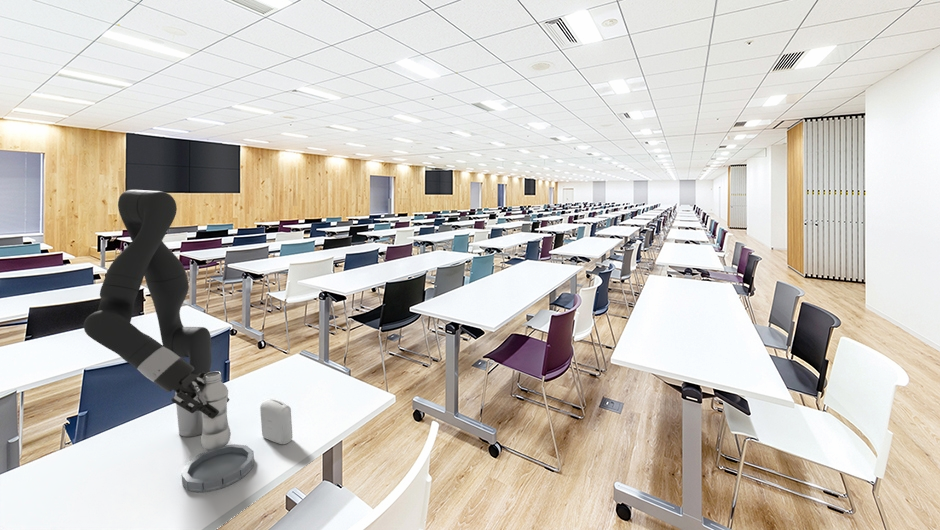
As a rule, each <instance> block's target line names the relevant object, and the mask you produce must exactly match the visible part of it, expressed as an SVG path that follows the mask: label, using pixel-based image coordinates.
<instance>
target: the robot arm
mask: <svg viewBox="0 0 940 530" xmlns="http://www.w3.org/2000/svg"><path fill="white" fill-rule="evenodd" d="M117 207H118V212H119V215H120V218H121V220H122V223H123V224H124V227H125V230H126V231H127V233H128V235H129V237H130V239H131V242H130V243H129V244H128V245H127V246H126V248H125V249H124V250H123V251H121V252H120V254H118V255H117V256H116V257H115V259H114V260H113V261H112V263H110V265H109V268H108V269H107V272H106V273H105V277H104V279H103V282H102V285H101V287H100V291H99V298H100V303H99V305H98V308H97V311H94V312H92V313H91V314H89V315H88V316H87V317H86V318H85V320H84V322H83V330H84V332H85V334H86V335H87V336H88V337H89V338H91V339H92V340H93V341H95V342H97V343H98V344H100V345H101V346H103V347H105V348H107V349H108V350H110V351H112V352H113V353H115V354H117V355H118V356H119V357H121V359H123V360H124V361H125V362H126V363H127V364H130V365H131V366H132V367H134V368H135V369H136V370H138V372H140V374H142V375H143V376H144V377H145V378H147V379H148V380H150V381H151V382H153V383H154V384H155V385H156V386H158V387H160V388H161V389H162V390H164V391H165V392H167V393H171V392H172V391H174V392H175V394H174V395H175V396H173V397H172V398H171V402H172V403H174V404H175V406H176V414H177V427H178V434H179V435H180V437H186V438H187V437H188V438H191V437H195V436H199V435H202V430H203V418H202V417H203V416H202V413H204V414H205V415H207V416H208V417H210V418H211V419H213V418H215V417H216V416H217V415H218V413H219V411H218V410H217V409H216V408H214V407H213V406H211V405H210V404H209V403H207V402H206V401H205V400H204V399H203V398H202V396H203V394H202V392H201V390H202V388H203V387H204V385H205V383H204V375H205V374H207V373H209V372H211V367H212V362H213V361H212V338H211V337H212V336H211V333H210V331H209V329H208V328H206V327H204V326H185V325H184V324H183V323H182V318H181V314H180V313H181V308H182V305H183V304H184V302H185V299H186V297H187V295H188V293H189V290H190V284H189V280H188V276H187V273H186V269H185V266H184V265H183V263H182V262H181V260H180V259H179V258H178V257H177V256H176V254H175V253H174V252H173V251H172V250H171V249H170V248H169V247H168V246H167V244H165V242H163V240H164V238H165V236H166V235H167V234H168V233H167V232H169V229H170V227H171V226H172V224H173V222H174V220H175V217H176V215H177V203H176V200H175V198H174V197H173V196H172V195H171V194H170V193H168V192H165V191H162V190H161V191H160V190H143V189H128V190H125V191H123V192H122V193H121V194H120V196H119V197H118V201H117ZM144 279H145V282H146V286H147V289H148V291H149V294H150V296H151V300H152V303H153V306H154V310H155V313H156V318H157V321H158V326H159V327H158V328H159V333H160V338H161V343H162V344H161V343H160V342H158V341H157V340H156V339H154V338H153V337H152V336H150V335H148V334H146V333H144V332H142V331H141V330H139V329H138V328H137V327H136V326H135V325H134V324H132V323H131V322H132V317H133V312H134V307H135V302H136V298H137V296H138V294H139V292H140V289H141V286H142V283H143V280H144ZM184 358H189V362H187V361H186V360H185V359H184ZM229 402H230V398H229V397H228V399H227V403H229Z"/></svg>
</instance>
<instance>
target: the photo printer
mask: <svg viewBox="0 0 940 530" xmlns="http://www.w3.org/2000/svg"><path fill="white" fill-rule="evenodd" d="M259 409H260V410H259V411H260V424H261V435H262V437H263V438H264V439H266V440H269V441H270V442H273V443H276V444H278V445H279V444H280V445H286V444H288V443H290V442H292V439H293V424H292V410H291V407H290V406H289V404H287V403H286V402H284V401H282V400H280V399H278V398H277V399H276V398H267V399H266V400H263V401H262V402H261V403H260V408H259Z"/></svg>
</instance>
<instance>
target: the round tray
mask: <svg viewBox="0 0 940 530" xmlns="http://www.w3.org/2000/svg"><path fill="white" fill-rule="evenodd" d="M254 453H255V452H254V450H253V449H252V448H250V447H249V446H248V445H247V444H246V445H244V444H235V443H234V444H227V445H226V446H224V447H222V448H220V449H217V450H213V451H208V450H205V452H202V453H200V454H198V455H197V456H195V457H193V458H192V459H191V460H190V461H188V462H187V463H186V464H185V465H184V468H183V469H182V472H181V475H180V476H181V484H182V486H183V488H184V489H186V490H187V491H189V492H193V493H207V492H213V491H217V490H220V489H221V490H222V489H225V488H226V487H229V486H231V485H233V484H235V483H237V482H239V481H241V480H242V479H243V478H245V477H246V476H247V475H248V474H249V473H250V471H251V470H252V469H253V467H254V465H255V455H254Z"/></svg>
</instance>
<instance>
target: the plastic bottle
mask: <svg viewBox="0 0 940 530" xmlns="http://www.w3.org/2000/svg"><path fill="white" fill-rule="evenodd" d="M204 383H205V385H204V387H203V388H202V390H201V392H202V394H203V396H202V398H203V399H204V400H205V401H206V402H207V403H209V404H210V405H211V406H213V407H214V408H216V409H217V410H218V411H219V413H218V415H217V416H216V417H215V418H213V419H211V418H210V417H208V416H207V415H205V414H204V413H202V416H203V417H202V418H203V430H202V434H201V438H200V443H201V447H202V448H203V449H204V451H213V450H217V449H220V448H222V447H224V446H226V445H229V442H230V440H231V435H232V434H231V433H232V432H231V429H230V425H229V419H228V411H227V410H228V402H227V399H228V398H229V397H228V396H229V389H228V387H227V385H226V384H225V383H224V382H222V373H221V371H218V370H217V371H215V370H214V371H210V372H209V373H207V374H205V375H204Z"/></svg>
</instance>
